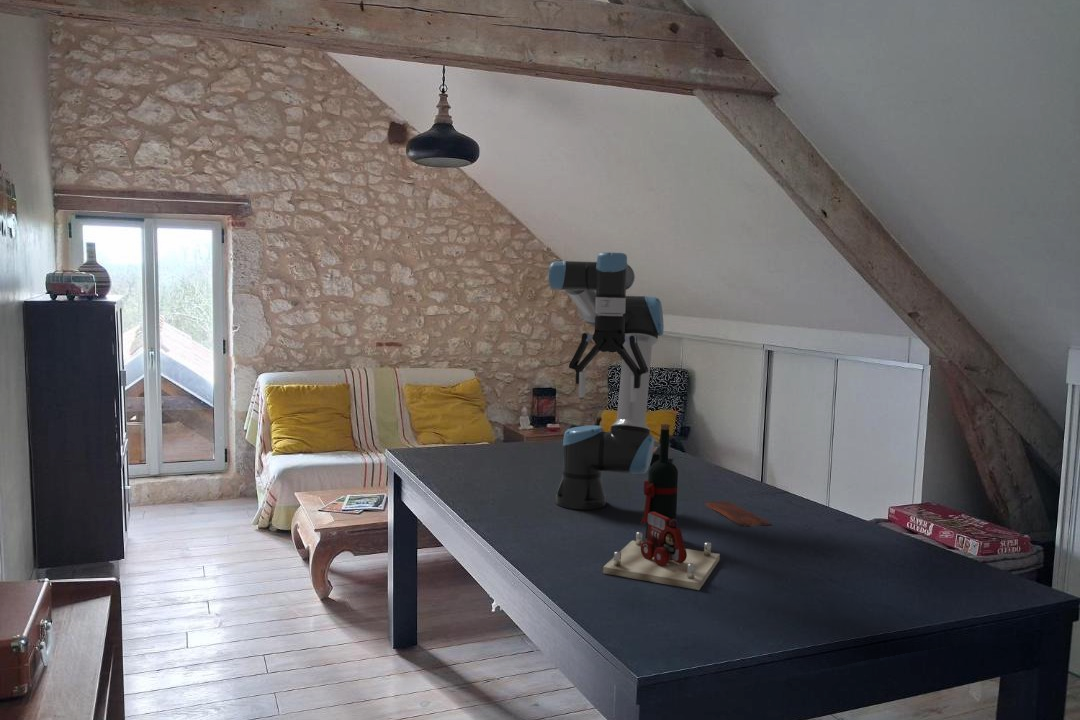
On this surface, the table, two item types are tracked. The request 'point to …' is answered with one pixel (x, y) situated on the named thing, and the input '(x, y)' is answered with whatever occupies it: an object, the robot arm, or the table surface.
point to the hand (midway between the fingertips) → (607, 399)
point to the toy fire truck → (663, 540)
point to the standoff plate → (672, 573)
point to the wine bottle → (661, 483)
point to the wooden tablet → (737, 514)
